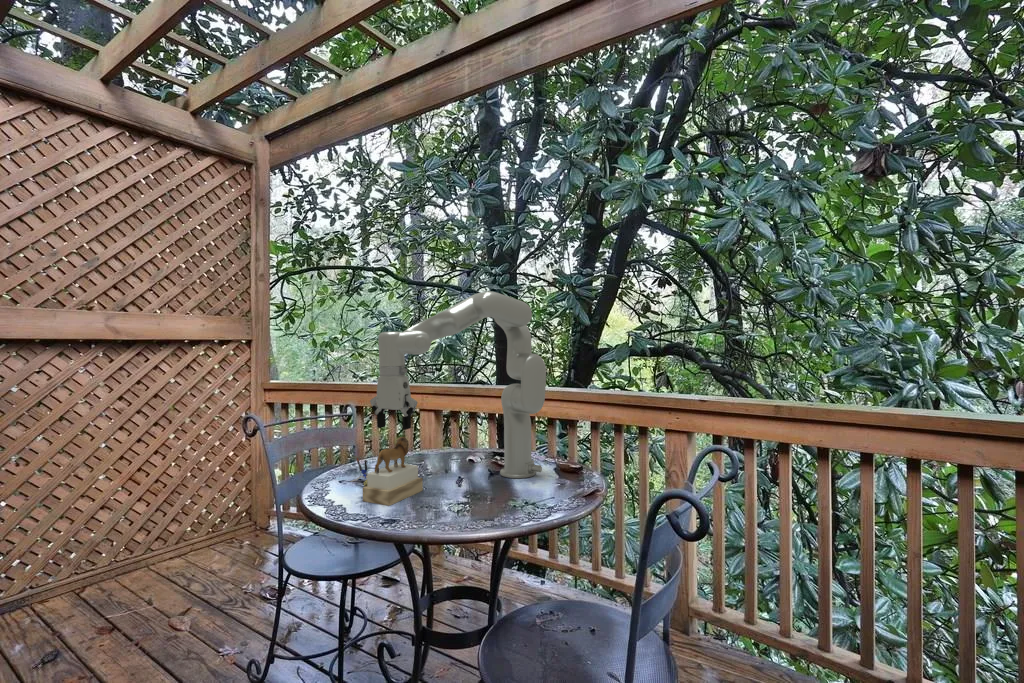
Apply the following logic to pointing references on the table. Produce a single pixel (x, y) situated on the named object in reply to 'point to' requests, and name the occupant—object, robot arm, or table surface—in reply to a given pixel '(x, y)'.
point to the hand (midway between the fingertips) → (394, 428)
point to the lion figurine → (393, 454)
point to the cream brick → (392, 477)
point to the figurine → (362, 472)
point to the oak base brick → (392, 493)
